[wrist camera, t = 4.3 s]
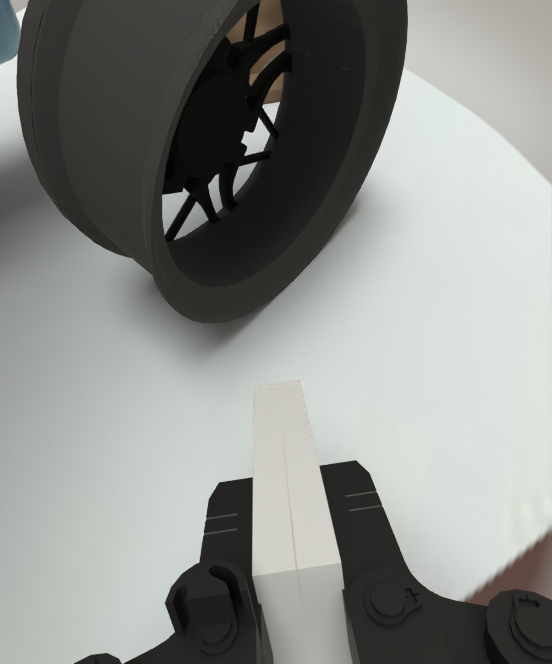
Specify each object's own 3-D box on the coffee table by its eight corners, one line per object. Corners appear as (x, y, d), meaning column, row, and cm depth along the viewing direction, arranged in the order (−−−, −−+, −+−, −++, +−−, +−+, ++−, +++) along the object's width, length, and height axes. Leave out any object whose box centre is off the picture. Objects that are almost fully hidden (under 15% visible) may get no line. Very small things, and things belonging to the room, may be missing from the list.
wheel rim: (293, 150, 36) (283, -207, 18) (374, 197, 33) (460, -170, 15) (130, 296, 31) (-117, -1, 13) (209, 366, 28) (37, 114, 10)
